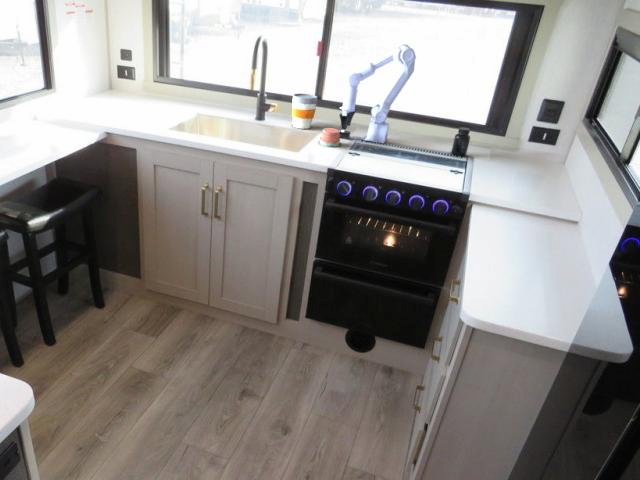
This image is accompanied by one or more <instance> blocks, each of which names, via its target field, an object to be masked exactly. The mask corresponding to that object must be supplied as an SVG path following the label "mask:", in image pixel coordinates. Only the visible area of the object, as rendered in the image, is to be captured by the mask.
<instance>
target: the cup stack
mask: <svg viewBox="0 0 640 480" xmlns="http://www.w3.org/2000/svg"><path fill="white" fill-rule="evenodd" d="M339 132H340V129H337V128H333V127H326V128H323V130H322V131H321V136H320V137H319V145H321V146H324V147H329V148H336V147H339V146H340V143H341V138H340V133H339Z"/></svg>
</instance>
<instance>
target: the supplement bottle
mask: <svg viewBox="0 0 640 480" xmlns="http://www.w3.org/2000/svg"><path fill="white" fill-rule="evenodd" d="M470 131H471V129H470V128H468V127H459V128H458V130H457V132H458V133H456V134H455V135H454V138H453V143H452V147H451V151H450V153H451V155H453V156H456V157H465V156H466V155H467V153H468V149H469V144H470V141H471V136H470V135H469V134H470Z"/></svg>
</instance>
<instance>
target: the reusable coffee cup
mask: <svg viewBox="0 0 640 480" xmlns="http://www.w3.org/2000/svg"><path fill="white" fill-rule="evenodd" d="M317 104H318V96H317V95H315V94H309V93H294V94H292V106H291V116H292V126H293V127H294V128H298V129H304V130H305V129H310V128H311V127H312V122H313V119H314V117H315V114H316V110H317V109H316V107H317Z"/></svg>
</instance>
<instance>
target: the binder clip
mask: <svg viewBox="0 0 640 480" xmlns="http://www.w3.org/2000/svg"><path fill="white" fill-rule="evenodd" d="M339 133H340V138H339V139H342V140H343V139H344V140H350V139H351V133H352V132H351V131H349V130H343V129H341V130H339Z"/></svg>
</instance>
